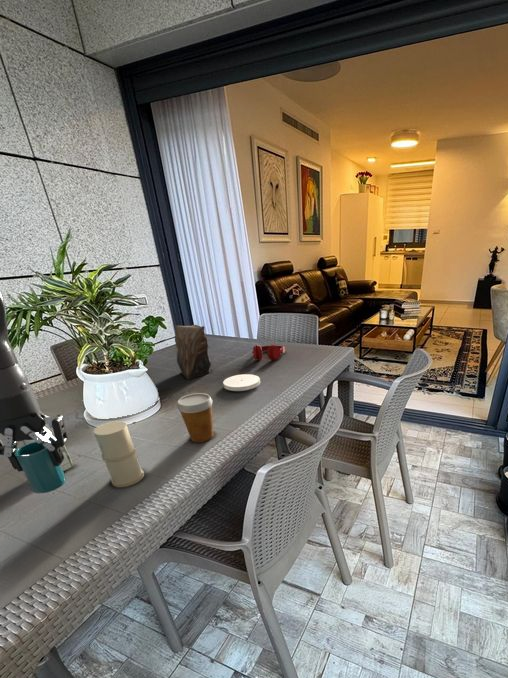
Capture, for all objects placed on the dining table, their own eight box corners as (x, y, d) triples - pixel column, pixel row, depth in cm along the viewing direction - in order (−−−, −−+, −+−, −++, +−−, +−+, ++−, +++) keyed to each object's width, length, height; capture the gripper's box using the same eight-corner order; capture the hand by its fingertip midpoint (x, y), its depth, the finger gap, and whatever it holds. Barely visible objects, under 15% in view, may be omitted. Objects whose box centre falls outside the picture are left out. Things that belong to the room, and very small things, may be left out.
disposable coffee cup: (220, 427, 107) (213, 391, 102) (217, 443, 99) (209, 404, 93) (188, 431, 106) (179, 394, 100) (182, 447, 98) (172, 408, 92)
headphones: (280, 361, 162) (287, 354, 181) (279, 345, 160) (286, 340, 178) (248, 361, 163) (259, 355, 182) (247, 346, 161) (257, 341, 180)
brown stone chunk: (178, 372, 155) (167, 326, 146) (206, 366, 161) (198, 321, 152) (187, 379, 146) (176, 331, 137) (216, 373, 152) (207, 326, 143)
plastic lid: (222, 383, 141) (221, 377, 140) (257, 378, 145) (256, 372, 144) (225, 395, 129) (224, 389, 128) (263, 390, 133) (262, 383, 132)
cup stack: (105, 485, 83) (84, 433, 77) (126, 468, 89) (109, 419, 83) (130, 489, 82) (111, 437, 75) (150, 471, 88) (134, 421, 81)
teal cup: (25, 491, 72) (6, 454, 68) (51, 474, 77) (35, 439, 73) (47, 495, 71) (29, 457, 67) (72, 478, 76) (57, 442, 71)
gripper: (57, 379, 69) (86, 451, 77) (-30, 387, 66) (9, 462, 73) (41, 393, 62) (74, 471, 70) (-57, 403, 59) (-10, 483, 67)
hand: (41, 466), depth 72 cm, fingers closed on teal cup, 6 cm apart
